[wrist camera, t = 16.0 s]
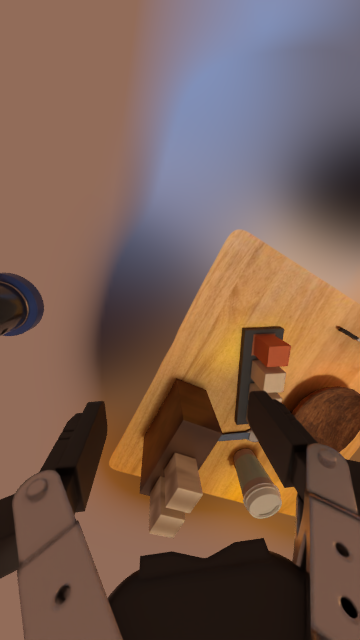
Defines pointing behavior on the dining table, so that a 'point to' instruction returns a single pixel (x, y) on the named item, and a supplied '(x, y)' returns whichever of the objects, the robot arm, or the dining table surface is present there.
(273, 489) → the coffee cup
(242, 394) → the far board
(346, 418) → the bowl
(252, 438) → the wristwatch
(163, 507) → the stand
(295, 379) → the dining table surface
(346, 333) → the knife
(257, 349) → the red-brown rectangular block
